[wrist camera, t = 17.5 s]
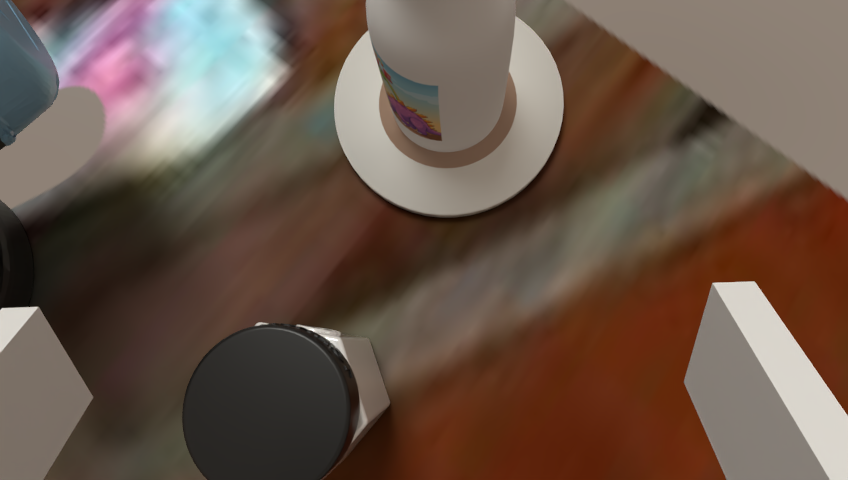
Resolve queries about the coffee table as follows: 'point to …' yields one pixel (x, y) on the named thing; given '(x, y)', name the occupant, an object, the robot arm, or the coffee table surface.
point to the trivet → (462, 170)
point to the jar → (281, 403)
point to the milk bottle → (443, 66)
